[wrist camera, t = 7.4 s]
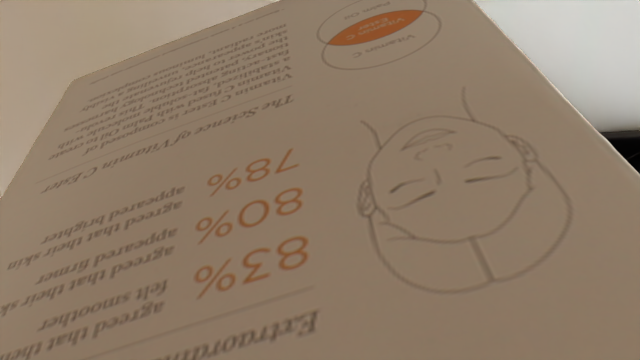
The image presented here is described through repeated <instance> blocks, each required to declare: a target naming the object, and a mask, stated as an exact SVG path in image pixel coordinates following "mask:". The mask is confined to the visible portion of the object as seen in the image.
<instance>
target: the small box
mask: <svg viewBox="0 0 640 360" xmlns="http://www.w3.org/2000/svg"><path fill="white" fill-rule="evenodd" d="M0 360H640V174H639V173H638V172H637V171H636V170H635V169H634V168H633V167H632V166H631V165H630V164H629V163H628V162H627V161H626V160H625V159H624V158H623V157H622V156H621V155H620V153H619V152H618V151H617V150H616V149H615V148H614V147H613V146H612V145H611V144H610V142H609V141H608V140H607V139H606V138H605V137H604V136H602V135H601V134H600V133H599V132H598V131H597V130H596V129H595V128H594V127H593V126H592V125H591V124H590V123H589V122H588V121H587V120H586V119H585V117H584V116H583V115H582V114H581V113H580V112H579V111H578V110H577V109H576V108H575V107H574V106H573V105H572V104H571V103H570V102H569V101H568V100H567V99H566V98H565V97H564V96H563V95H562V94H561V92H560V91H559V90H558V89H557V88H556V87H555V86H554V85H553V84H552V83H551V82H550V81H549V79H548V78H547V77H546V76H545V75H544V74H543V73H542V72H541V71H540V70H539V69H538V68H537V66H536V65H535V64H534V63H533V62H532V61H531V60H530V59H529V58H528V57H527V56H526V54H525V53H524V52H523V51H522V50H521V49H520V48H519V47H518V46H517V45H516V44H515V43H514V42H513V41H512V40H511V39H510V38H509V37H508V36H507V35H506V34H505V33H504V32H503V31H502V30H501V29H500V27H499V26H498V25H497V24H496V23H495V22H494V21H493V20H492V19H491V18H490V17H489V16H488V15H487V14H486V13H485V12H484V11H483V10H482V9H481V8H480V7H479V6H478V5H477V4H476V3H475V2H474V1H473V0H280V1H277V2H275V3H272V4H269V5H267V6H264V7H262V8H259V9H256V10H254V11H251V12H249V13H246V14H244V15H241V16H238V17H236V18H233V19H230V20H228V21H225V22H222V23H220V24H217V25H214V26H212V27H209V28H206V29H204V30H201V31H199V32H196V33H193V34H191V35H188V36H185V37H183V38H180V39H178V40H175V41H172V42H170V43H167V44H165V45H162V46H159V47H157V48H154V49H152V50H149V51H146V52H144V53H141V54H139V55H136V56H133V57H131V58H128V59H126V60H123V61H121V62H118V63H116V64H113V65H111V66H108V67H106V68H103V69H101V70H98V71H96V72H93V73H90V74H88V75H85V76H83V77H80V78H78V79H75V80H74V81H72V82H71V83H70V84H69V86H68V88H67V90H66V91H65V93H64V95H63V97H62V99H61V100H60V102H59V104H58V105H57V107H56V108H55V110H54V112H53V113H52V115H51V117H50V118H49V120H48V122H47V123H46V125H45V126H44V128H43V129H42V131H41V133H40V134H39V136H38V137H37V139H36V140H35V142H34V144H33V146H32V148H31V149H30V151H29V153H28V155H27V156H26V158H25V160H24V161H23V163H22V165H21V166H20V168H19V170H18V171H17V173H16V175H15V176H14V178H13V180H12V181H11V183H10V185H9V186H8V188H7V190H6V191H5V193H4V194H3V196H2V198H1V199H0Z"/></svg>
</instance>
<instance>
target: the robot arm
mask: <svg viewBox="0 0 640 360" xmlns="http://www.w3.org/2000/svg"><path fill="white" fill-rule="evenodd" d="M600 134H601V135H602V136H604V137H605V138H606V139H607V140H608V141H609V142H610V144H611V145H612V146H613V147H614V148H615V149H616V150H617V151H618V152H619V153H620V155H621V156H622V157H623V158H624V159H625V160H626V161H627V162H628V163H629V164H630V165H631V166H632V167H633V168H634V169H635V170H636V171H637V172H638V173H639V174H640V131H627V132H610V133H600Z"/></svg>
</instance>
